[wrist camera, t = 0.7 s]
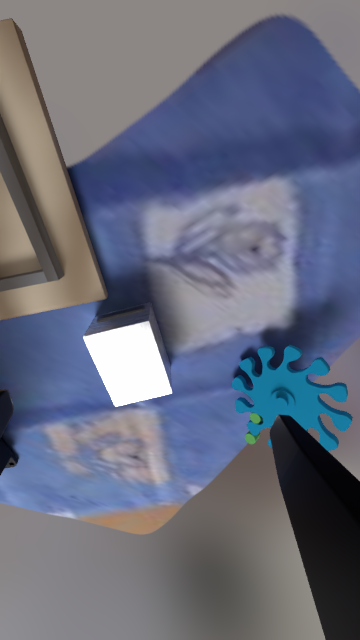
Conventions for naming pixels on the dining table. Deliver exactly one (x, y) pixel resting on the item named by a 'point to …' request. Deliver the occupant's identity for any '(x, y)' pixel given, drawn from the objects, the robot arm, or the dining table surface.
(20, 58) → the dock
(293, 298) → the dining table surface
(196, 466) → the dining table surface
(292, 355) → the gear
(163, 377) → the block
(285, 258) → the dining table surface
